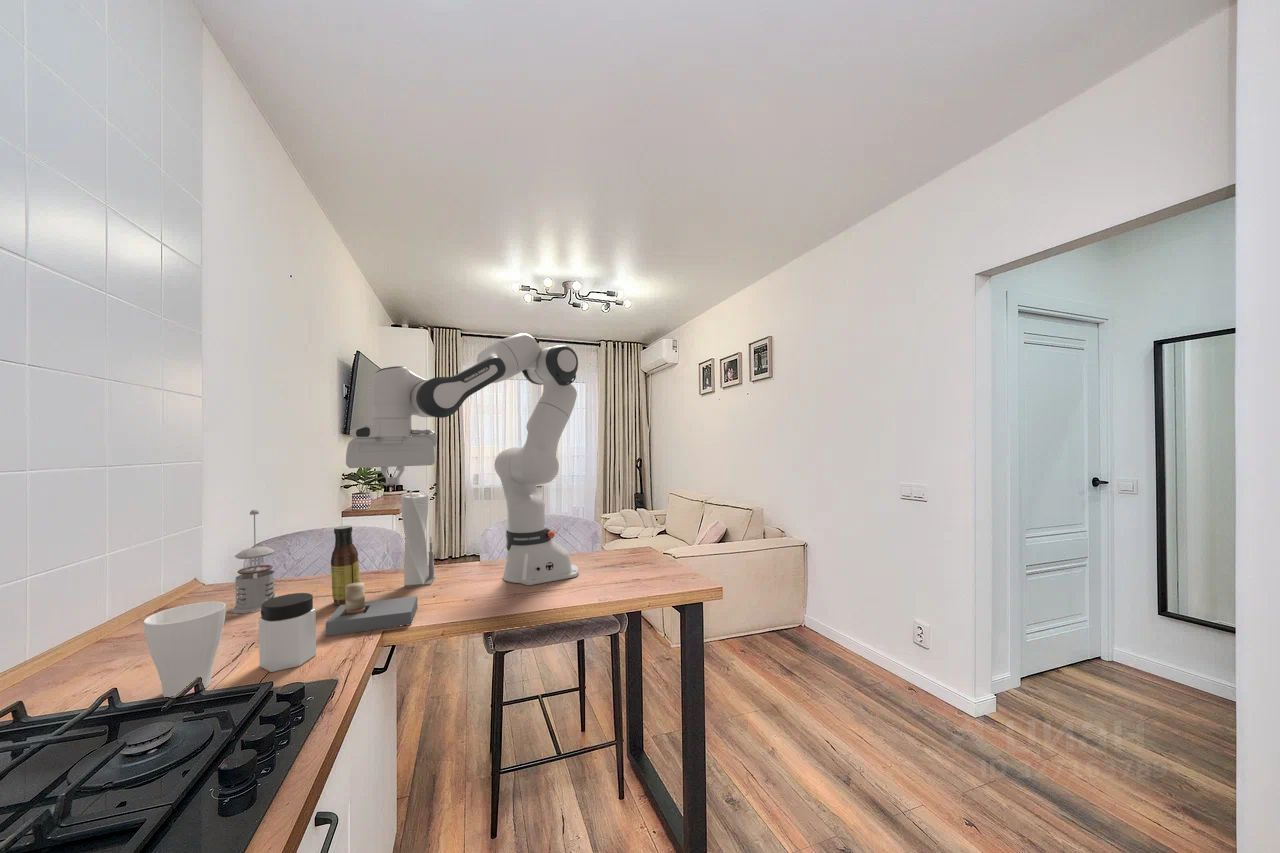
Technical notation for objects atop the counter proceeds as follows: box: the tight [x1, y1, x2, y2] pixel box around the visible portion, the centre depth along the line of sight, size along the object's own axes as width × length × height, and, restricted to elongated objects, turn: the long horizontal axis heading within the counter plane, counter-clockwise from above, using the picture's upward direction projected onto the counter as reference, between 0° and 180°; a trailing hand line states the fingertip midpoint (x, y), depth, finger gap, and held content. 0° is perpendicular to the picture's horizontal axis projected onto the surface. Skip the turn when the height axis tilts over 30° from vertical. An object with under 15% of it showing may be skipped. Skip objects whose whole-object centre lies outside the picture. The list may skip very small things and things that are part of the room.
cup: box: [143, 601, 227, 698], centre depth 83 cm, size 10×10×14 cm
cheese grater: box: [400, 488, 436, 588], centre depth 140 cm, size 8×8×28 cm
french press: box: [230, 509, 276, 614], centre depth 124 cm, size 10×12×25 cm
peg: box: [345, 581, 366, 615], centre depth 111 cm, size 4×4×9 cm
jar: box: [258, 592, 317, 673], centre depth 93 cm, size 9×8×12 cm
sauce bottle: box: [330, 525, 361, 606], centre depth 125 cm, size 6×6×20 cm
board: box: [325, 595, 418, 637], centre depth 112 cm, size 17×11×3 cm, turn 108°
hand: (393, 484), depth 121 cm, fingers closed
